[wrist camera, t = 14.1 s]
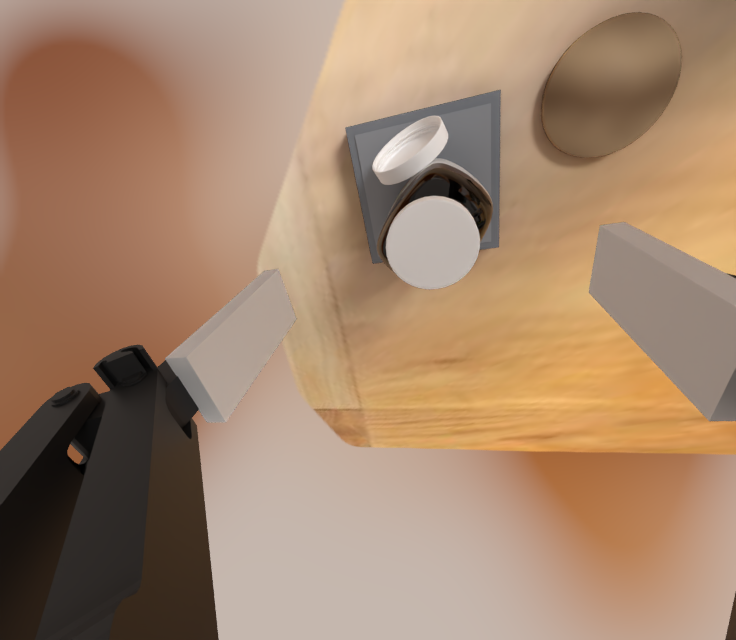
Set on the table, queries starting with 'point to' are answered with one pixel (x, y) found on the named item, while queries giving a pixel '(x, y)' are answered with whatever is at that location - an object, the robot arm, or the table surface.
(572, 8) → the table surface
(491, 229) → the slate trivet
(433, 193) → the spread jar
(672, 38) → the oak coaster
